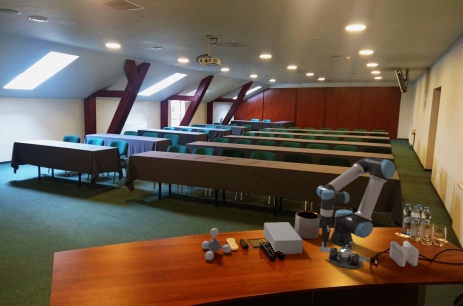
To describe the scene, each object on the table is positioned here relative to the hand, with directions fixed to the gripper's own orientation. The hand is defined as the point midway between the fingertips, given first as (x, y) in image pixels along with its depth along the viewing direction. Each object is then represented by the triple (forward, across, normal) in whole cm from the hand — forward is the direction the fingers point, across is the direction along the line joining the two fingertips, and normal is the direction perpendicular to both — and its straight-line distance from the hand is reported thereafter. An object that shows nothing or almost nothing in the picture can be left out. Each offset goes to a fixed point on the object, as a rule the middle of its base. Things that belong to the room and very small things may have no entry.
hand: (324, 251), depth 202 cm
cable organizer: (+6, 0, -49) cm, 50 cm away
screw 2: (+4, -8, -20) cm, 22 cm away
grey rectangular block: (+4, +1, -3) cm, 5 cm away
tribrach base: (+6, -1, -13) cm, 14 cm away
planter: (+4, +37, +4) cm, 37 cm away
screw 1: (+4, +8, -18) cm, 21 cm away
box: (+5, +20, +24) cm, 32 cm away
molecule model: (+5, +3, +71) cm, 71 cm away
